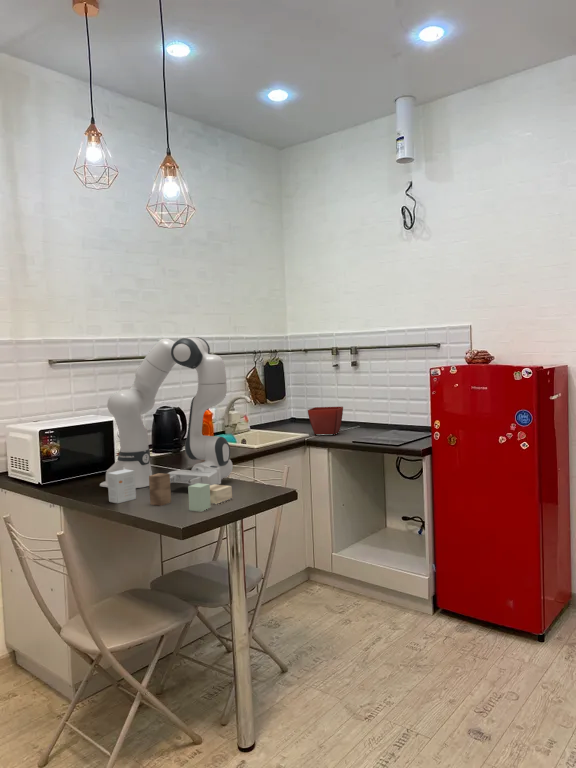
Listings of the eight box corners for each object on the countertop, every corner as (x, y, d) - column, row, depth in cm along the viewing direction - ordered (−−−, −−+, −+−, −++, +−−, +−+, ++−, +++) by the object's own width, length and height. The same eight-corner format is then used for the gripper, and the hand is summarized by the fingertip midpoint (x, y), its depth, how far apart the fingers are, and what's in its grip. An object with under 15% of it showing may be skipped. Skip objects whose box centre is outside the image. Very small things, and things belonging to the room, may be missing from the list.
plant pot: (308, 436, 362) (307, 409, 361) (315, 432, 380) (314, 407, 379) (338, 436, 356) (337, 409, 355) (344, 432, 374) (343, 406, 374)
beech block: (199, 503, 202) (198, 488, 201) (215, 498, 208) (214, 484, 208) (217, 505, 197) (216, 490, 197) (232, 500, 204) (231, 486, 203)
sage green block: (189, 510, 191) (188, 486, 191) (198, 506, 196) (197, 483, 195) (201, 511, 189) (200, 487, 189) (210, 508, 193) (209, 484, 193)
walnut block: (150, 504, 202) (148, 475, 202) (160, 501, 206) (158, 473, 206) (161, 505, 200) (160, 476, 199) (171, 502, 204) (169, 473, 204)
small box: (127, 497, 215) (125, 468, 215) (136, 498, 212) (135, 470, 211) (108, 501, 209) (106, 472, 209) (117, 503, 205) (115, 474, 205)
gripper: (180, 464, 229) (156, 471, 217) (223, 467, 219) (201, 474, 207) (181, 480, 229) (157, 488, 217) (224, 484, 219) (202, 492, 207)
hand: (179, 481), depth 212 cm, fingers open, 8 cm apart
